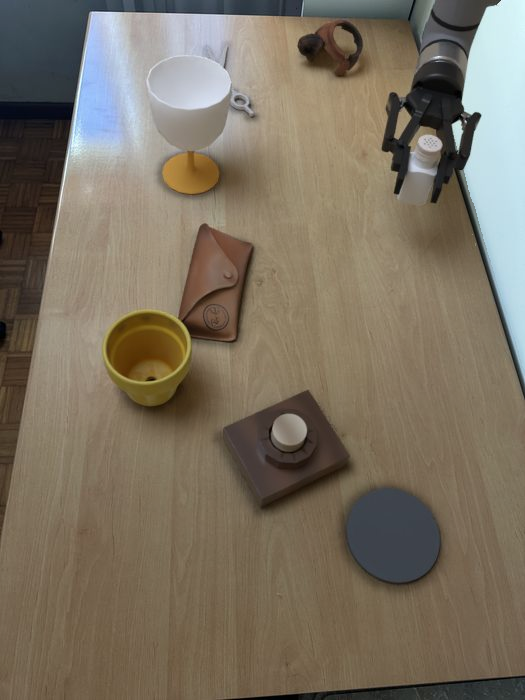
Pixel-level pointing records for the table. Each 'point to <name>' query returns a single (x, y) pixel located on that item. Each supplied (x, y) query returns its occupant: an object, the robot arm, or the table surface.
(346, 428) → the table surface
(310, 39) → the brown curved piece
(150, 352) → the flower pot
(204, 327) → the sunglasses case
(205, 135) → the cup
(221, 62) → the scissors
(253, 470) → the button base
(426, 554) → the mat
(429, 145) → the pepper shaker
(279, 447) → the cream short cylinder
